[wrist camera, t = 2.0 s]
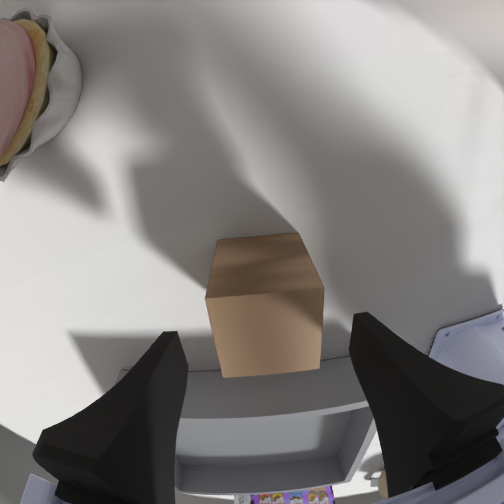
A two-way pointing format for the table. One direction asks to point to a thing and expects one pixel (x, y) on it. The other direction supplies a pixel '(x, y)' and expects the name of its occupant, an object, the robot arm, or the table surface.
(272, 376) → the grey bin
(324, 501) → the candy box
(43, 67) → the cupcake
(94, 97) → the table surface
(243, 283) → the walnut block
